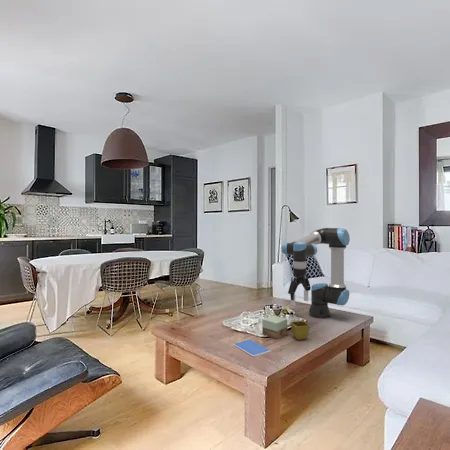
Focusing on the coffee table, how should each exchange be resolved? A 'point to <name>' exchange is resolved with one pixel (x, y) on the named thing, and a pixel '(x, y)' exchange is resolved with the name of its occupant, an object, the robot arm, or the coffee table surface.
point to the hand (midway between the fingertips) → (299, 303)
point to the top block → (274, 323)
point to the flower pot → (300, 329)
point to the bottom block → (274, 333)
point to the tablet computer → (252, 348)
